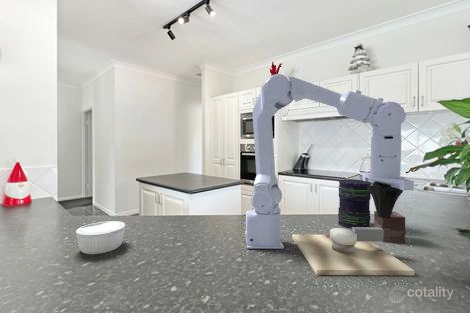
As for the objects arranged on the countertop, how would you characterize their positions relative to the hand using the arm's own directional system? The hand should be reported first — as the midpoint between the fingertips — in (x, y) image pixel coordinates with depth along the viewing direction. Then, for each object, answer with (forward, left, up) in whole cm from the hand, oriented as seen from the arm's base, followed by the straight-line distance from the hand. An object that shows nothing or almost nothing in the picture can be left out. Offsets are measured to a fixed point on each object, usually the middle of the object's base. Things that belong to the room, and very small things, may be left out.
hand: (383, 217), depth 53 cm
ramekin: (-68, +8, -11) cm, 69 cm away
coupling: (-4, +5, -7) cm, 9 cm away
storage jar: (+7, +27, -11) cm, 29 cm away
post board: (-7, +5, -10) cm, 13 cm away
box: (+11, +15, -11) cm, 21 cm away
